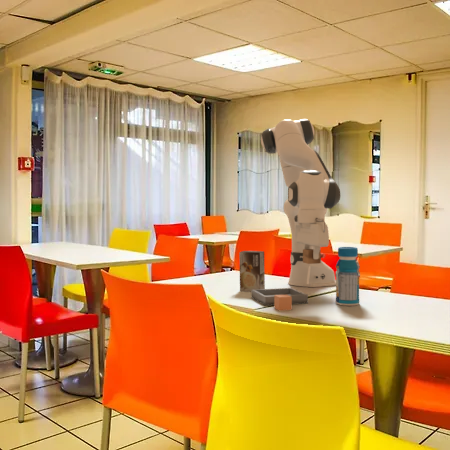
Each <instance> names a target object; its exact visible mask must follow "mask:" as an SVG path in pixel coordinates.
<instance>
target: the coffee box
mask: <svg viewBox="0 0 450 450" xmlns="http://www.w3.org/2000/svg"><path fill="white" fill-rule="evenodd" d="M238 255H239V291H240V292H248V293H249V292H250V293H252V290H257V289H266V288H265V287H266V286H265V285H266V284H265V282H266V281H265V279H266V278H265V277H266V276H265V272H266V271H265V251H261V250H242V251H239V254H238Z"/></svg>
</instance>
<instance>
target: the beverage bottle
mask: <svg viewBox="0 0 450 450" xmlns="http://www.w3.org/2000/svg"><path fill="white" fill-rule="evenodd" d="M358 253H359V252H358V247H356V246H355V247H354V246H339V247H338V249H337V257H339V259H338V260H337V262H336V265H335V268H336V271H335V273H334V275H335V280H336V285H335V286H336V288H335V304H337V305H339V306H345V307H347V306H348V307H352V306H353V307H354V306H358V305H359V304H360V277H361V272H360V263H359V261H358V260H357V257H358Z"/></svg>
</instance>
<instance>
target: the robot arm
mask: <svg viewBox="0 0 450 450" xmlns="http://www.w3.org/2000/svg"><path fill="white" fill-rule="evenodd" d="M314 139H315V128H314V124H313V123H311V121H310V120H309V119H307V118H301V119H299V120H292V119H288V118H287V119H283V120H280V121H279V122H278V123H276V125H275V126H274V127H271V128H270V127H268V128H267V129H264V130H263V131H262V133H261V137H260V143H261V147H262V149H263V150H265V152H266V153H267V154H269V155H271V154H273V155H274V154H276V153H277V155H278V157H279V163H280V166H281V171H282V175H283V178H284V182H285V186H286V187H287V199H286V200H285V201H284V203H283V211H284V214H285V215H286V217H287V219H288V222H289V226H290V227H289V228H290V233H291V252H290V264H291V265H290V268H291V269H290V273H289V279H288V282H287V284H288V285H290V286H297V287H309V288H319V287H330V286H331V287H332V286H336V275H335V271H334V269H332V267H330V266H329V265H328V264H326V262H324V261H323V260H321V263H316V264H307V263H303V249H314V250H313V254H312V259H318V258H319V252H320V250H321V248H326V247H327V248H328V246H329V245H330V239H329V238H330V236H329V235H330V234H329V227H328V224H326V222H325V221H326V220H325V218H326V213H327V211H328V209H330V210H331V209H333V208H334V207H335V206H336V205H337V204H338V203H339V202H340V200H341V190H340V187H339V185H338V183H337V182H336V181H335V180H334V179H333V177H332V176H331V174H330V172H329V170H328V168H327V166H326V164H325V163H324V161H323V159H322V158H321V156H320V154H319V153H318V152H317V151H316V150H314V149H313V148H311V147H310V144H311V143H312V142H313V141H314ZM325 257H326V253H323V252H321V259H325Z"/></svg>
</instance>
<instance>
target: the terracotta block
mask: <svg viewBox="0 0 450 450" xmlns="http://www.w3.org/2000/svg"><path fill="white" fill-rule="evenodd" d="M292 305H293V304H292V297H291V296H289V295H274V305H273V307H274V309H275V310H277V311H279V310H280V311H291V310H292V309H293V306H292Z"/></svg>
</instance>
